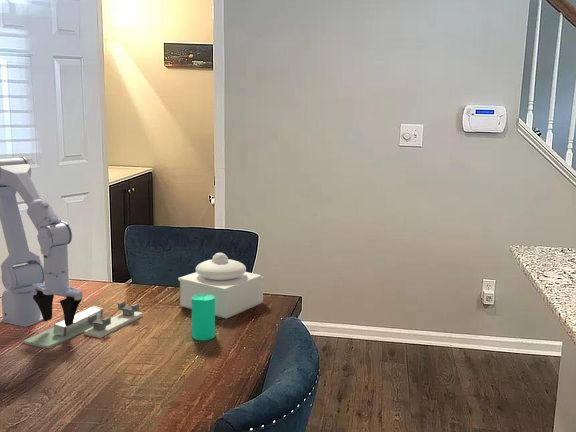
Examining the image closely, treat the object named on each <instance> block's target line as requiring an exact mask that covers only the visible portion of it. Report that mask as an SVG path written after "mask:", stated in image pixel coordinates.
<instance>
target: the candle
mask: <svg viewBox="0 0 576 432" xmlns="http://www.w3.org/2000/svg"><path fill="white" fill-rule="evenodd" d="M215 336H216V316H215V297H214V296H213V295H206V294H204V291H203V294H197V295H194V296H192V309H191V338H193V339H194V340H197V341H208V340H212V339H214V338H215Z"/></svg>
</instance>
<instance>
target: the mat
mask: <svg viewBox="0 0 576 432" xmlns="http://www.w3.org/2000/svg"><path fill="white" fill-rule="evenodd" d="M91 327H93V324H88V325H86V326H84V327H82V328H80V329H78V330H76V331H74V332H72V333H70V334H68V335H66V336H64V337H62V336H59V335H55V334H53V333H54V326H53V327H51V328H49V329H46V330H44V331H42V332H40V333H37V334H35V335H32V336H31V337H28V338H26V339H24V340H22V343H23V344H25V345H29V346H34V347H39V348H43V349H48V350H49V349H51V348H53V347H55V346H57V345H59V344H61V343H63V342H66V341H68V340H70V339H72V338H73V337H76V336H79V335H80V334H82V333H84V331H85V330H87V329H89V328H91Z"/></svg>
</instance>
